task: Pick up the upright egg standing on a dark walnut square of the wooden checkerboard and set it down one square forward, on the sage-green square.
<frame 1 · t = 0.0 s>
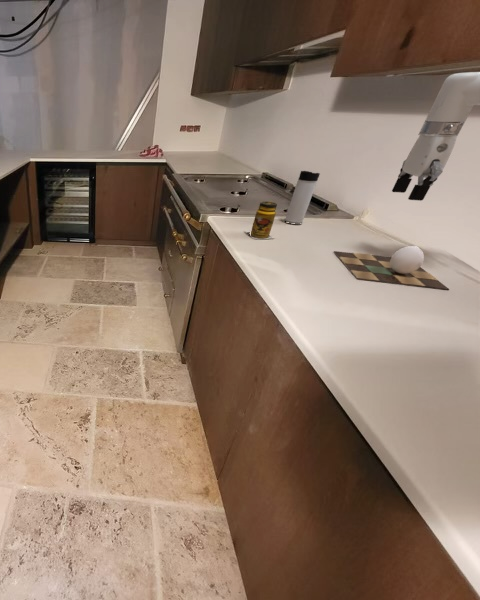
hand: (406, 195, 93), 18 cm above the worktop, tool pointing down, fingers open, 9 cm apart
condiment: (258, 235, 118), on the worktop
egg: (399, 273, 91), resting on checkerboard
checkerboard: (384, 269, 93), on the worktop
travel mug: (292, 223, 130), on the worktop
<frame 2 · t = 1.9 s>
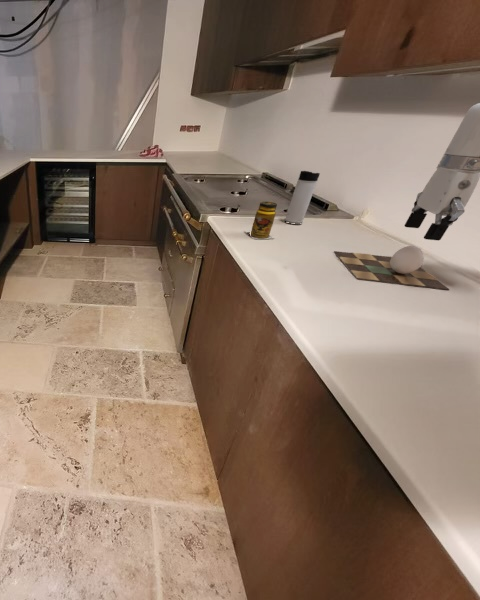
hand: (420, 233, 85), 12 cm above the worktop, tool pointing down, fingers open, 9 cm apart
nothing on the worktop moved.
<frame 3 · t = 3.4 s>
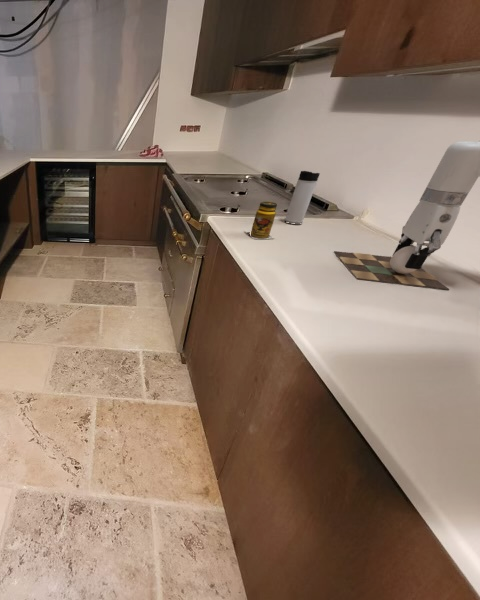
hand: (405, 262, 89), 4 cm above the worktop, tool pointing down, fingers closed on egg, 6 cm apart
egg: (399, 273, 91), resting on checkerboard, touching gripper
everything else where it was.
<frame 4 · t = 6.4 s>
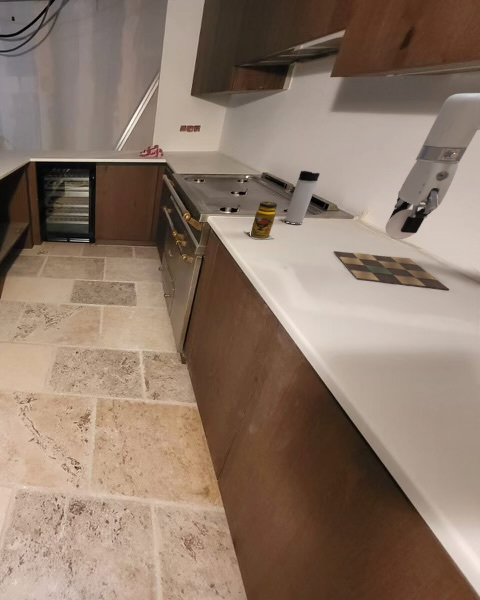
hand: (401, 227, 85), 13 cm above the worktop, tool pointing down, fingers closed on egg, 6 cm apart
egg: (394, 239, 87), point 10 cm above the worktop, touching gripper
everything else where it was.
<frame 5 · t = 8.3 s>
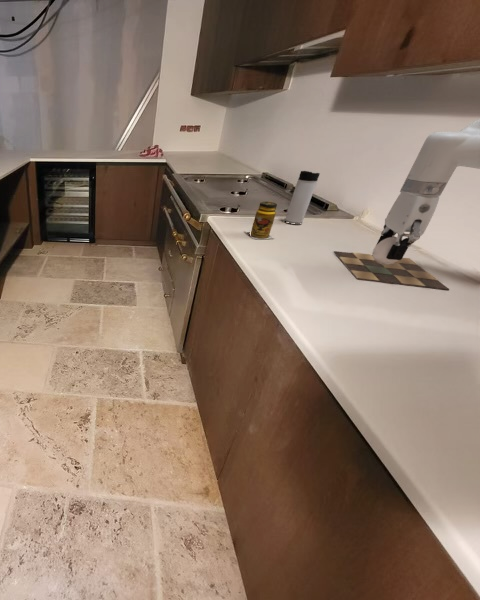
hand: (387, 253, 89), 6 cm above the worktop, tool pointing down, fingers closed on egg, 6 cm apart
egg: (381, 264, 91), point 2 cm above the worktop, touching gripper
everything else where it was.
when the fingers open (4 cm above the worktop, at t = 9.4 s): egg stays where it is, resting on checkerboard.
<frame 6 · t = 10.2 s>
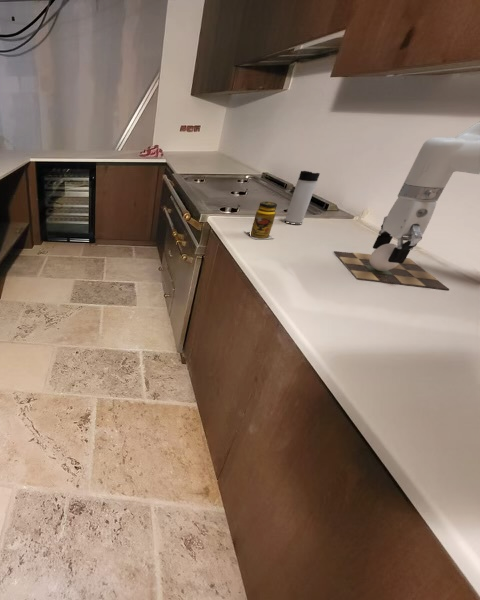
hand: (386, 255, 89), 5 cm above the worktop, tool pointing down, fingers open, 9 cm apart
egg: (378, 270, 92), resting on checkerboard
everything else where it was.
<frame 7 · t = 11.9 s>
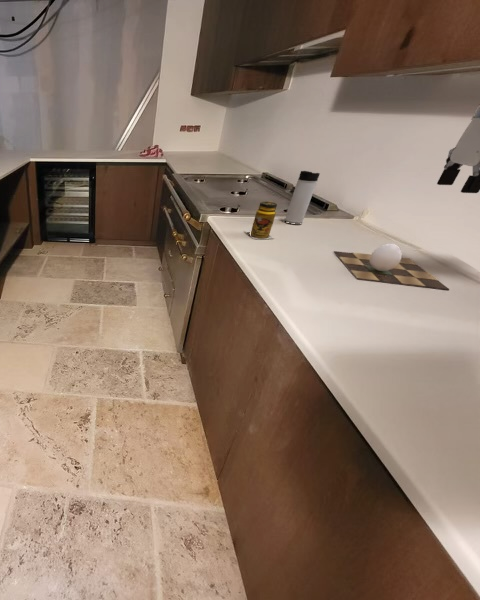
hand: (455, 188, 84), 22 cm above the worktop, tool pointing down, fingers open, 9 cm apart
nothing on the worktop moved.
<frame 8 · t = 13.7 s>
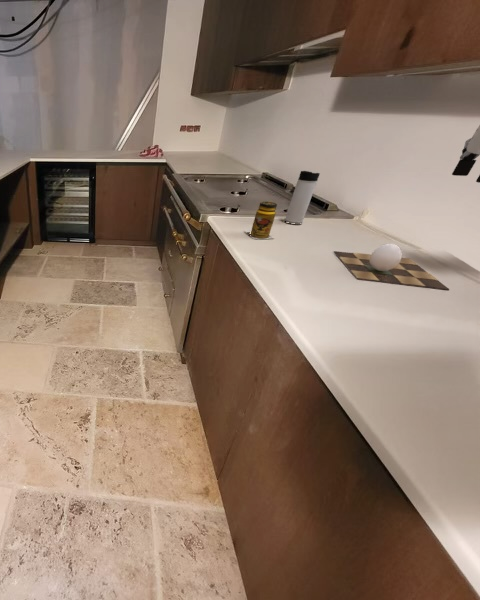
hand: (471, 178, 84), 24 cm above the worktop, tool pointing down, fingers open, 9 cm apart
nothing on the worktop moved.
at the end: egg 0.2 cm from the target spot, resting on checkerboard; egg tilted 0°; the gripper is holding nothing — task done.
